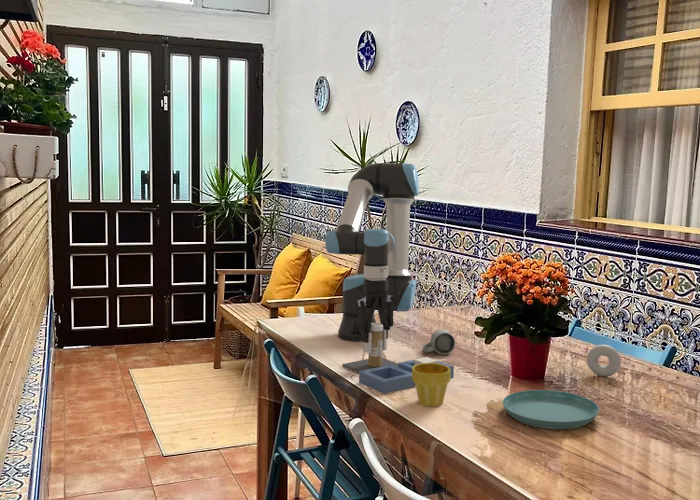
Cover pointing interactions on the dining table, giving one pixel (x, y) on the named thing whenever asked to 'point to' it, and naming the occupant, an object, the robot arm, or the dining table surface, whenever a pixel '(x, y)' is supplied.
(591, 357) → the donut
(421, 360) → the cream block
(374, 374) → the dish
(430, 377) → the plant pot
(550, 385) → the dining table surface
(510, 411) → the saucer
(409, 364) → the dish
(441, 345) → the ceramic mug
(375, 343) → the sprinkles bottle
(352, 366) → the mat
